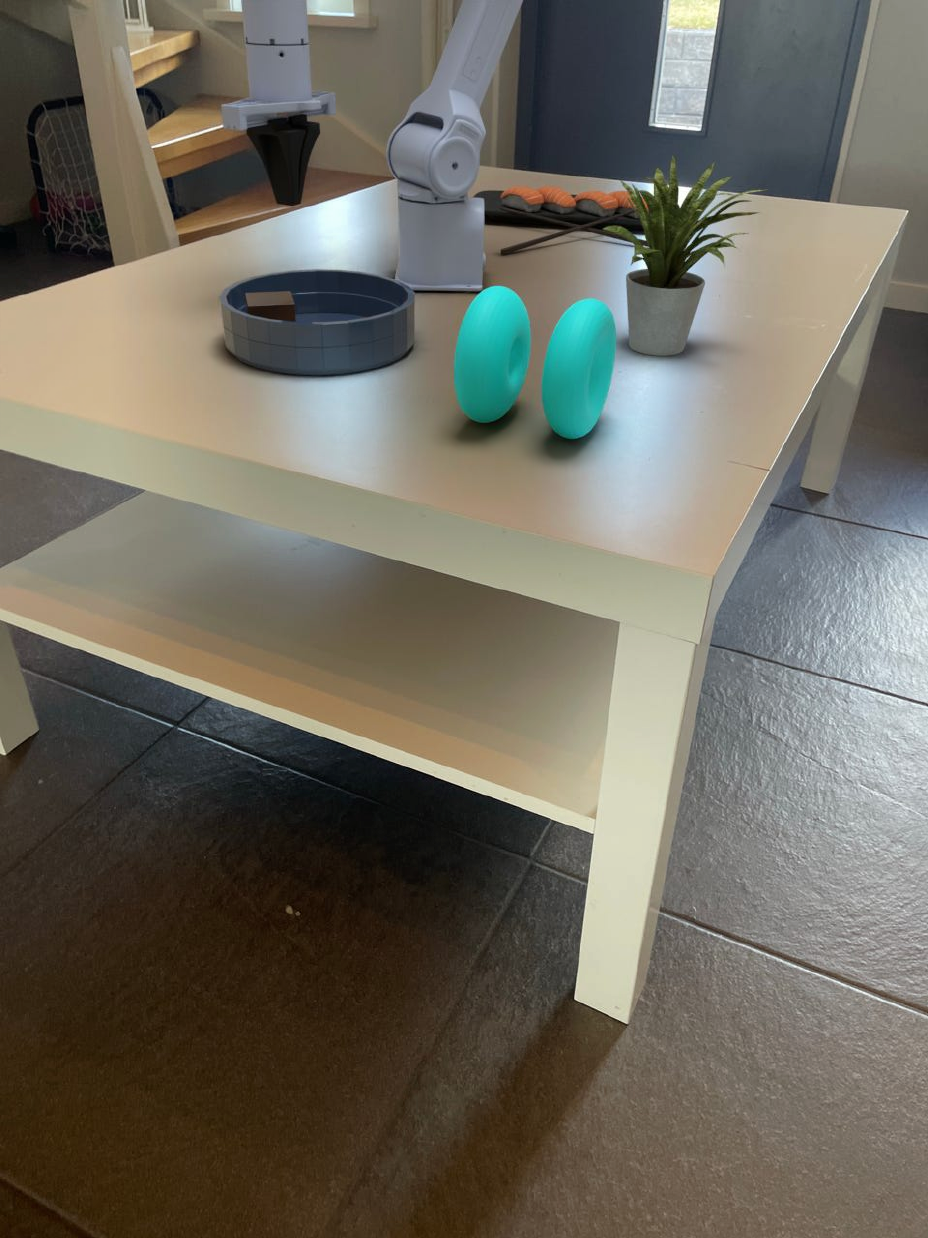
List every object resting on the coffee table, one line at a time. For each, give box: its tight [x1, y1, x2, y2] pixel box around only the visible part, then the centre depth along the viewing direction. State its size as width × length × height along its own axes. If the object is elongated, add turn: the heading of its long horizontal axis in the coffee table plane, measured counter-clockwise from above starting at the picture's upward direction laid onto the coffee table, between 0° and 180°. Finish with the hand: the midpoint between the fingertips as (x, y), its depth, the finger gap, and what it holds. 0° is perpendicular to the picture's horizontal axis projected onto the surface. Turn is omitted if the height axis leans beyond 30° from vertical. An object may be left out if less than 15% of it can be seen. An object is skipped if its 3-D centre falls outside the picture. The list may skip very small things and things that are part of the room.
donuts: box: [453, 285, 617, 440], centre depth 72 cm, size 10×10×10 cm
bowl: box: [218, 268, 416, 376], centre depth 89 cm, size 17×17×4 cm
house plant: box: [602, 154, 771, 357], centre depth 86 cm, size 14×14×16 cm
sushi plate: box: [472, 186, 681, 256], centre depth 129 cm, size 29×30×4 cm
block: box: [245, 291, 296, 322], centre depth 87 cm, size 4×4×4 cm
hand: (288, 203), depth 96 cm, fingers closed
